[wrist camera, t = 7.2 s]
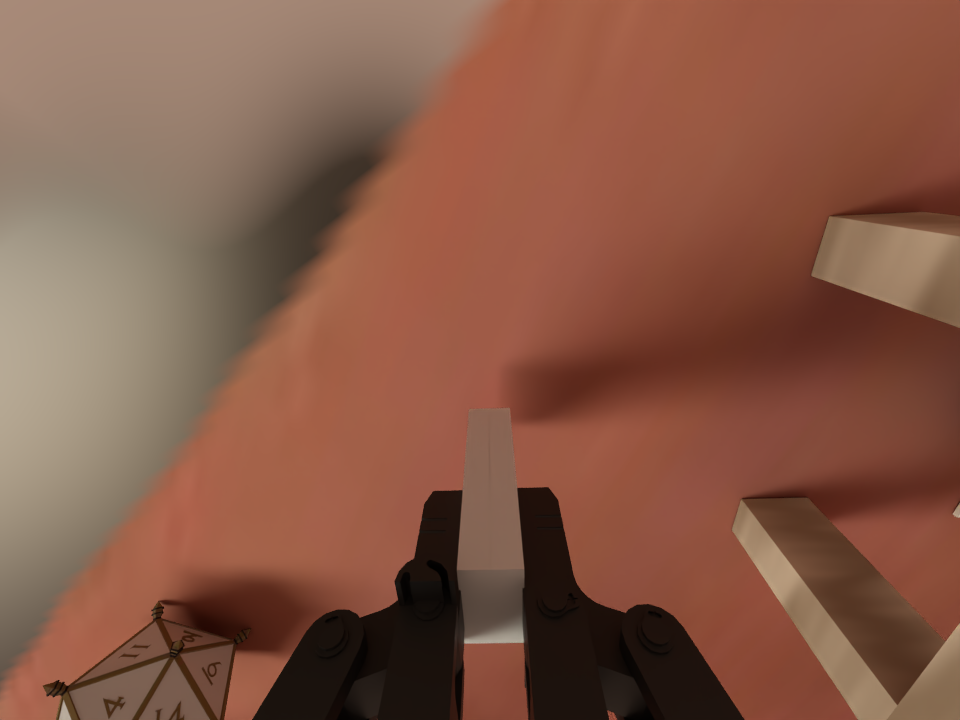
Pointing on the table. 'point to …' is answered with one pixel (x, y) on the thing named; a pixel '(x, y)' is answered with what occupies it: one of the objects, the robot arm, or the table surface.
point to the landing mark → (957, 511)
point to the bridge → (820, 545)
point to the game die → (155, 677)
